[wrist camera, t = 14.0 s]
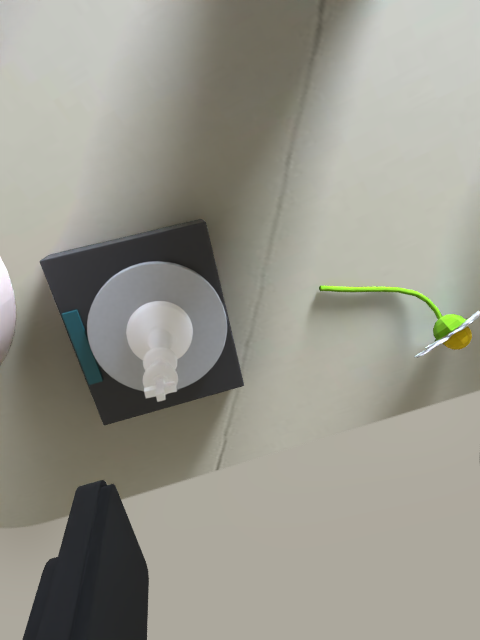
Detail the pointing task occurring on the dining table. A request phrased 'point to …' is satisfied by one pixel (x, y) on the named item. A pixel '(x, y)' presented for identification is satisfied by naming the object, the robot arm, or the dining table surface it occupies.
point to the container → (6, 312)
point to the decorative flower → (447, 327)
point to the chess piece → (159, 344)
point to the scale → (131, 293)
